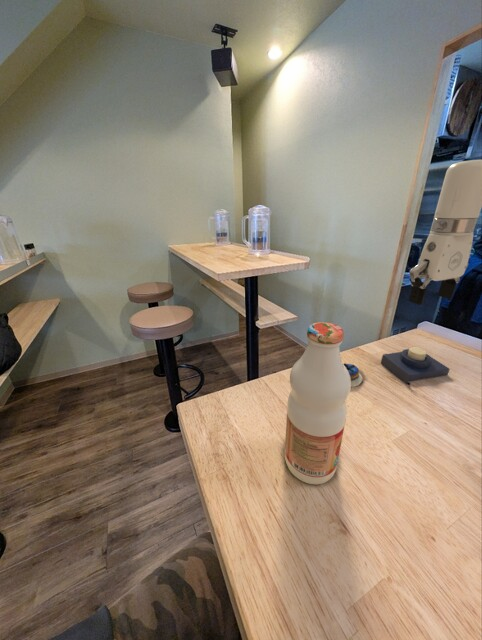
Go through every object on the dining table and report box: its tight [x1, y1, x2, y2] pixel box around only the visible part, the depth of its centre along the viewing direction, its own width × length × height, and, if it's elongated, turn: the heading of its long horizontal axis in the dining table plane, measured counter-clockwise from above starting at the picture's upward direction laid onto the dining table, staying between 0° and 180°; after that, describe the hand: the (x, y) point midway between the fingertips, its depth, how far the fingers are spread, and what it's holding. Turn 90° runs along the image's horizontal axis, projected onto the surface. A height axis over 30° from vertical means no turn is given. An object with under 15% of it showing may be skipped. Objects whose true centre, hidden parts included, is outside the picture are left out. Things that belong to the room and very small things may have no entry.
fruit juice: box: [284, 321, 352, 485], centre depth 41 cm, size 9×9×28 cm
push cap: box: [408, 346, 428, 361], centre depth 68 cm, size 4×4×2 cm
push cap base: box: [380, 348, 451, 386], centre depth 69 cm, size 12×10×5 cm
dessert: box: [343, 362, 363, 388], centre depth 68 cm, size 8×7×6 cm
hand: (430, 299), depth 62 cm, fingers open, 9 cm apart
